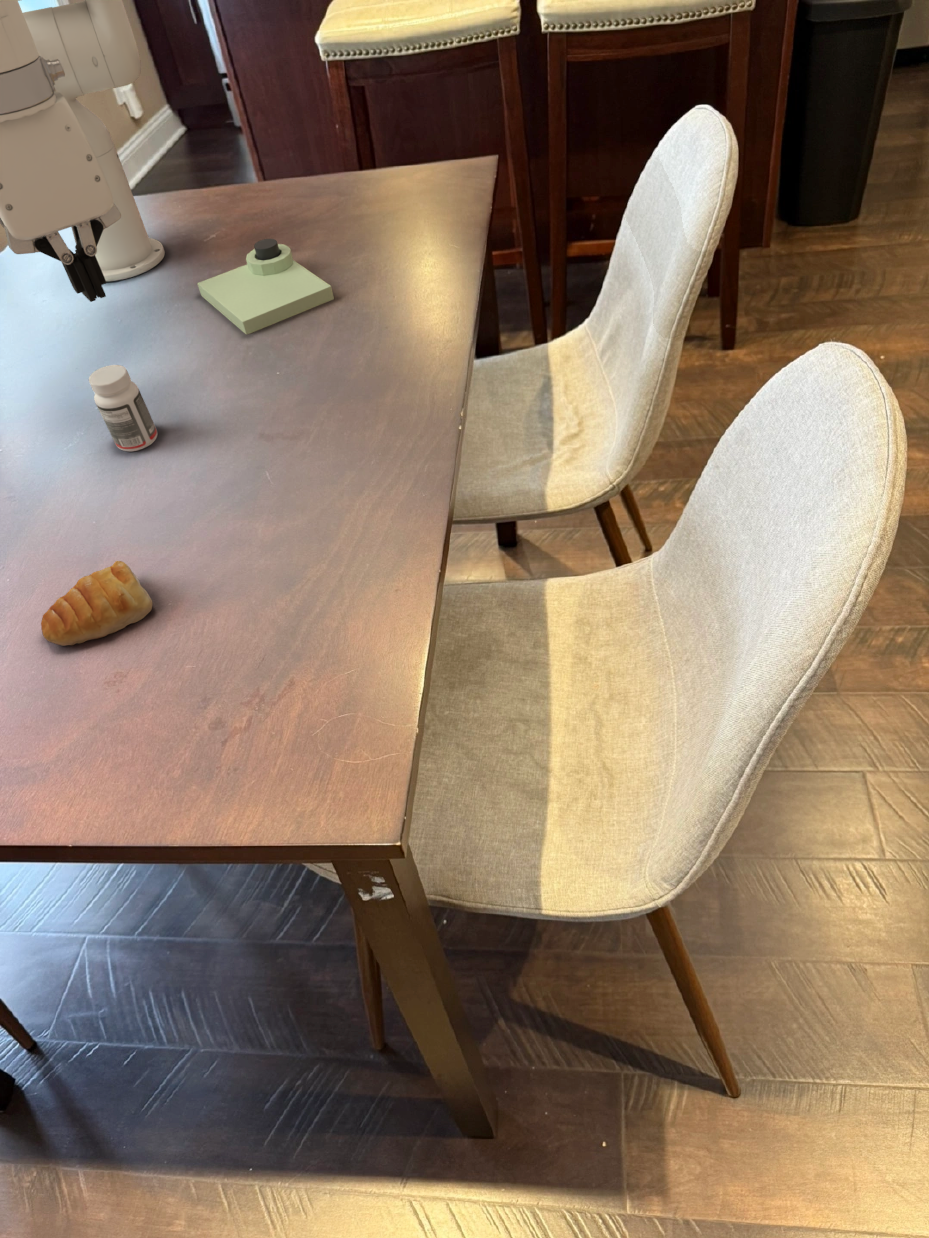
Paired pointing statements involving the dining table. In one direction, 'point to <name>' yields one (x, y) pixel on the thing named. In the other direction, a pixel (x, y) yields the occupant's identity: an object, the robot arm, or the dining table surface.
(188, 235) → the dining table surface
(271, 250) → the button
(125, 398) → the pill bottle
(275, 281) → the green button base
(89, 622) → the pastry
